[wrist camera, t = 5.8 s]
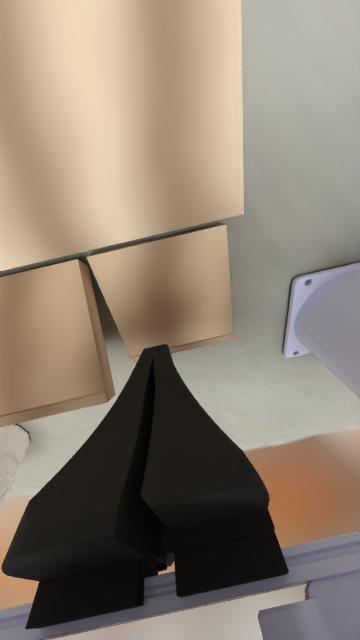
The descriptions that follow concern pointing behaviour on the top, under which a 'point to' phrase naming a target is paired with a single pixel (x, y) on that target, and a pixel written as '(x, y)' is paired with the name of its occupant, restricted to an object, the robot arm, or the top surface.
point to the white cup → (11, 456)
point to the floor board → (116, 122)
